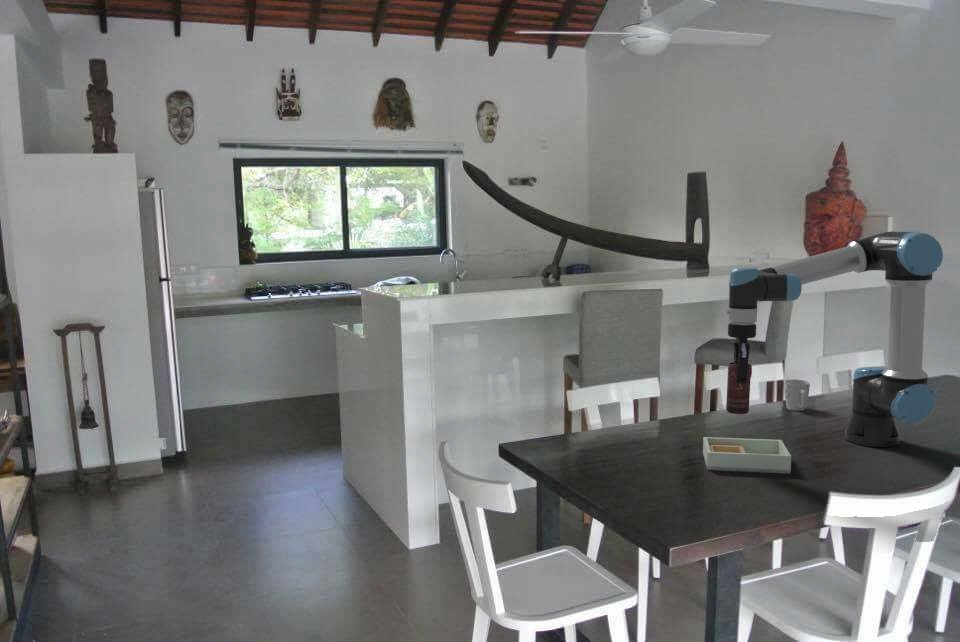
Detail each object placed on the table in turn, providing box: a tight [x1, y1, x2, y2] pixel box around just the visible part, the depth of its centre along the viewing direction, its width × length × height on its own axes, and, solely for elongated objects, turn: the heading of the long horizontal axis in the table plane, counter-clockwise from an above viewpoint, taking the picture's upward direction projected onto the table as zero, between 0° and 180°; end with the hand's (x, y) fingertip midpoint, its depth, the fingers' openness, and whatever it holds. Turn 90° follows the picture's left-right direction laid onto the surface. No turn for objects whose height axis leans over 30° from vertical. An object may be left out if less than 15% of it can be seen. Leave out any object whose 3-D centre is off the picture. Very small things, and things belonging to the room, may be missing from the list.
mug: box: [783, 379, 811, 412], centre depth 269 cm, size 11×8×10 cm
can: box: [725, 361, 753, 415], centre depth 211 cm, size 6×6×14 cm
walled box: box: [702, 436, 792, 475], centre depth 214 cm, size 22×15×5 cm
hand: (739, 404), depth 212 cm, fingers closed
